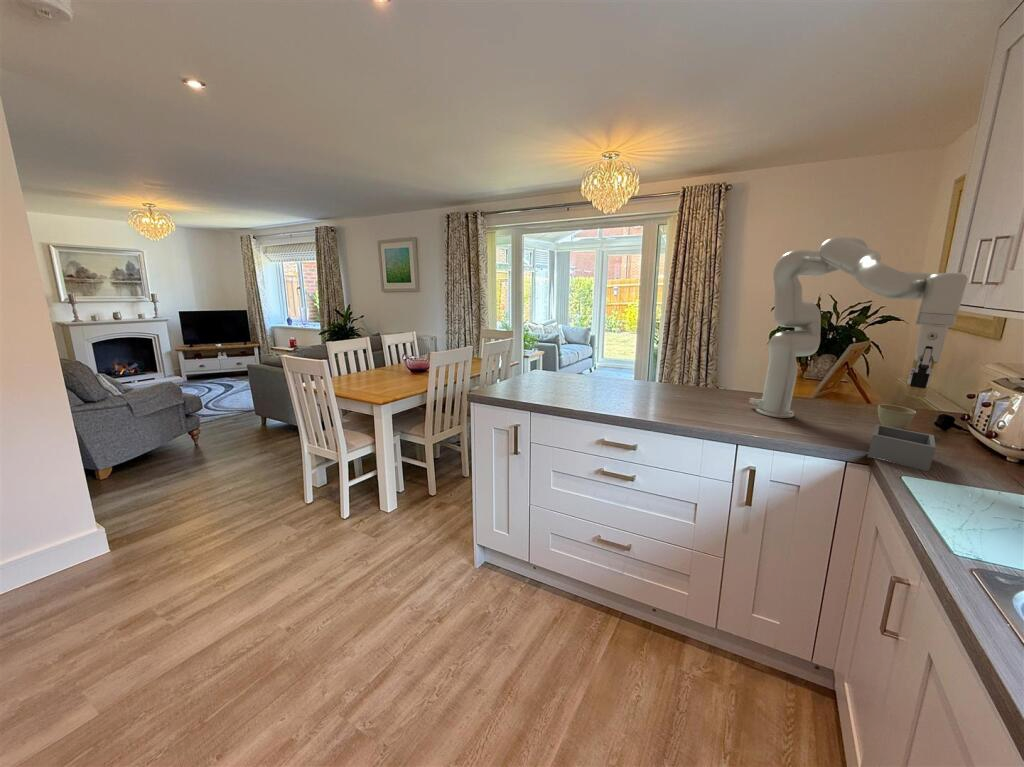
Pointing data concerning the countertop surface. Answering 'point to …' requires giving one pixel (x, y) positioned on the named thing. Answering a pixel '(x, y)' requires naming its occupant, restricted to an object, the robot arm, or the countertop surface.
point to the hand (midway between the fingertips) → (917, 385)
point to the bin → (902, 447)
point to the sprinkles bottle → (917, 391)
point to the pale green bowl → (895, 416)
